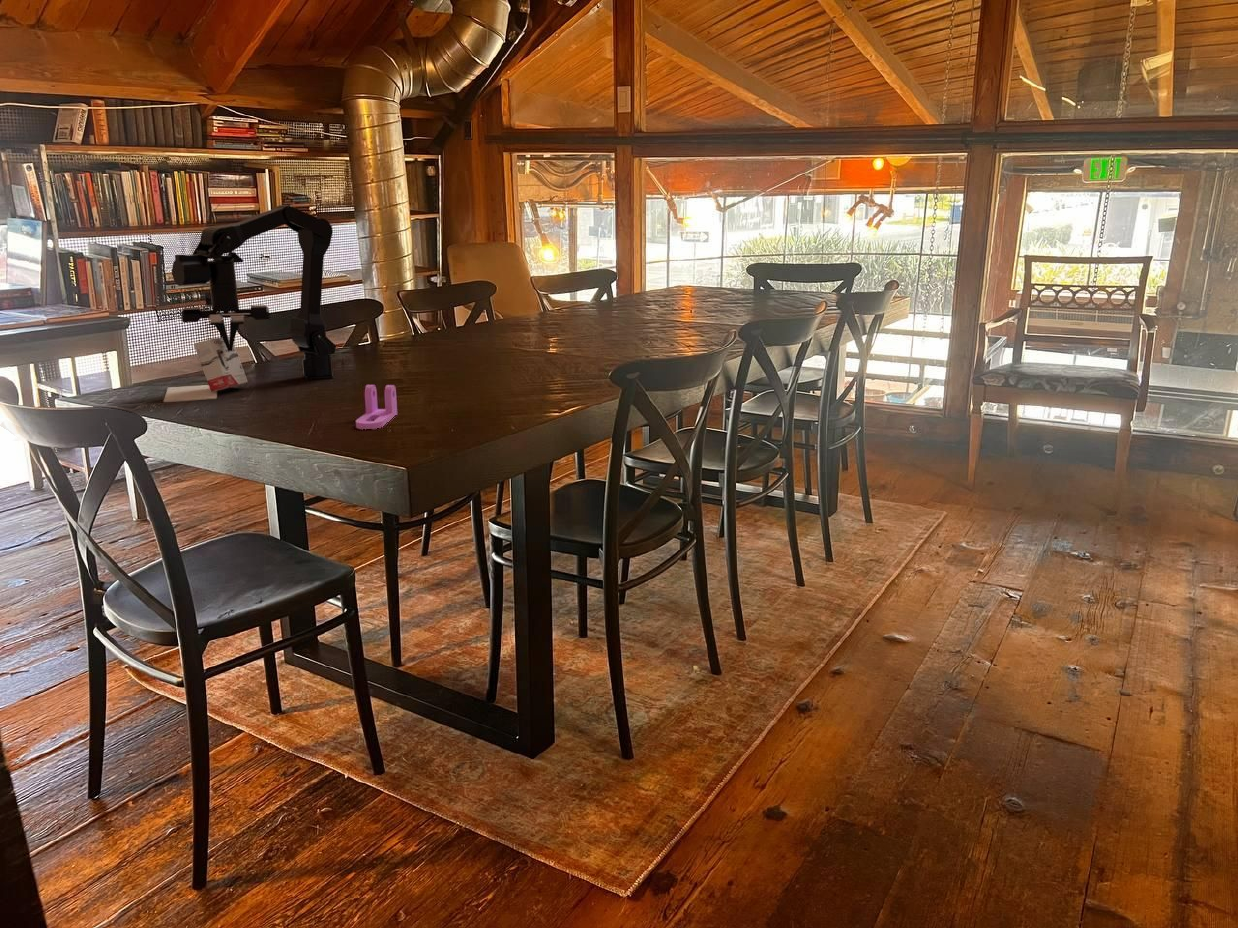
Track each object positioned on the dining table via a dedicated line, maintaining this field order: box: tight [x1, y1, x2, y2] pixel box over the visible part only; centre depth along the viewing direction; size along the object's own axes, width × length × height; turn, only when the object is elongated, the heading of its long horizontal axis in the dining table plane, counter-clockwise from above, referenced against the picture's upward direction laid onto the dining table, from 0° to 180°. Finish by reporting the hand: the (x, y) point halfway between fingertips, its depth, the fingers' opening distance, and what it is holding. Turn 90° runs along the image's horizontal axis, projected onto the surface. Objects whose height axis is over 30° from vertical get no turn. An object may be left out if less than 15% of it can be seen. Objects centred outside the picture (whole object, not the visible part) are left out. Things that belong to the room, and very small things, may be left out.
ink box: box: [193, 335, 248, 392], centre depth 220 cm, size 9×5×12 cm, turn 169°
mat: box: [163, 384, 218, 403], centre depth 218 cm, size 11×16×1 cm
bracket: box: [355, 384, 398, 431], centre depth 192 cm, size 13×6×7 cm, turn 178°
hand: (230, 350), depth 218 cm, fingers closed
